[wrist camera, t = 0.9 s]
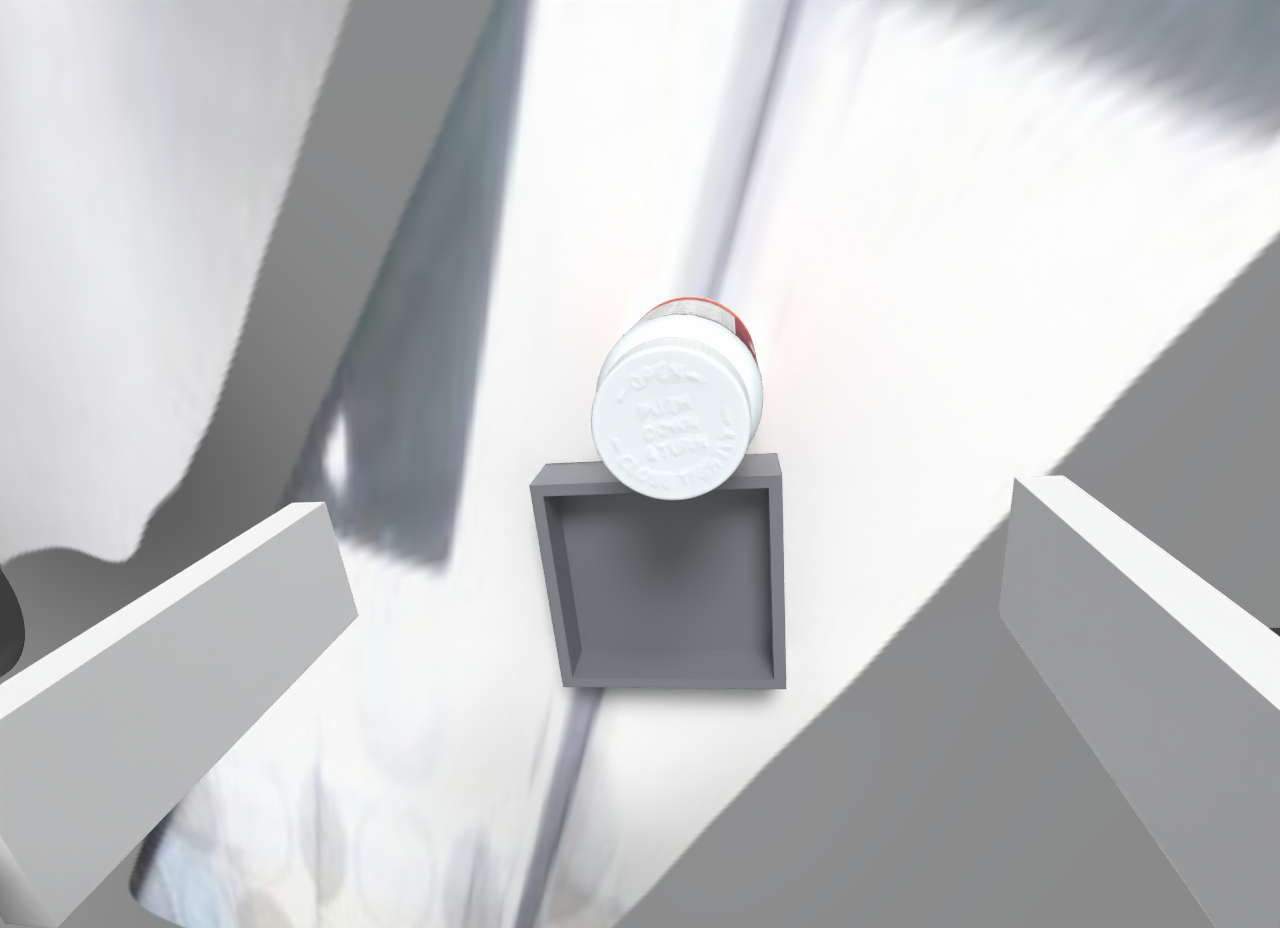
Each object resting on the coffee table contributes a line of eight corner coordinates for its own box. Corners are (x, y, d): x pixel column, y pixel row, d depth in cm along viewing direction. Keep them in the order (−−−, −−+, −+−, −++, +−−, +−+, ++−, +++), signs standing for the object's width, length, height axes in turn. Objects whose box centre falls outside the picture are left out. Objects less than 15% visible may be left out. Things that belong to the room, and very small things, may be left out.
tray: (575, 652, 37) (563, 686, 34) (546, 464, 33) (529, 485, 30) (781, 652, 35) (786, 689, 32) (777, 453, 31) (781, 475, 28)
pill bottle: (745, 427, 31) (754, 529, 20) (622, 413, 31) (570, 504, 21) (764, 300, 29) (785, 341, 18) (632, 287, 29) (579, 319, 19)
